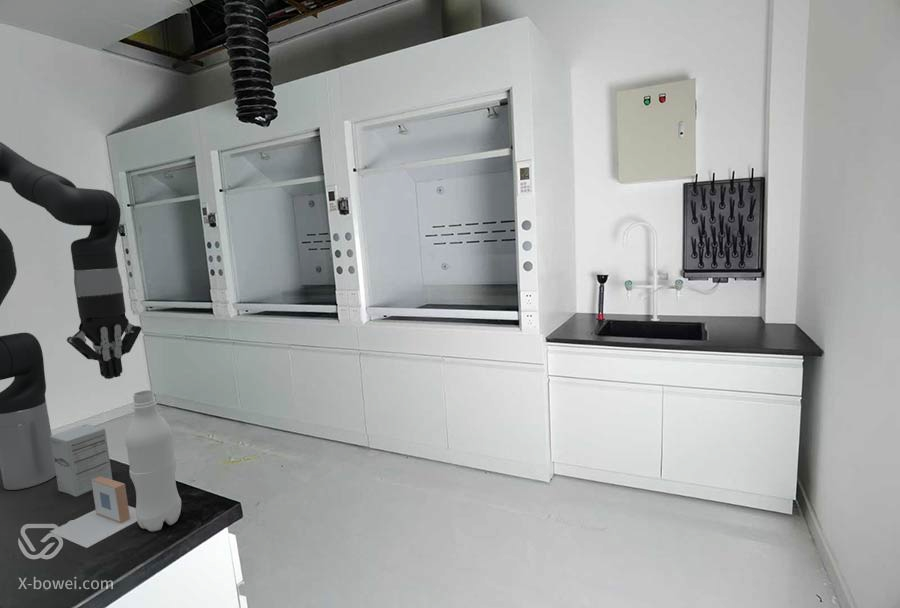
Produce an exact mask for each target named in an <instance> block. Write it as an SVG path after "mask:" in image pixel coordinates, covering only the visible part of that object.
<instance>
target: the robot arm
mask: <svg viewBox="0 0 900 608" xmlns="http://www.w3.org/2000/svg"><path fill="white" fill-rule="evenodd" d="M0 182H4V183H9V184H10V185H11V187H12V189H13V190H14V192H15V193H17V194H18V195H19V196H20V197H22V198H23V199H25V200H27V201H29V202H30V203H33V204H34V205H37V206H40V207H42V208H44V209H45V210H46V212H47V213H49V214H50V215H51V216H52V217H53V218H54V219H55V220H56V221H58V222H61V223H63V224H66V225H71V226H84V227H85V226H88V227H90V230H89V233H88V235H87V237H82V238H79V239H75V240H74V241H72V242H71V243H70V244H71V245H70V253H71V260H72V261H71V262H72V266H73V277H74V278H73V284H74V290H75V291H74V292H75V297H76V298H75V299H76V304H77V309H78V315H79V320H80V324H79V326H78V331H77V332H76V333H75V334H73V335H72V336H68V337H67V338H66V342H67V343H68V344H69V345H70V346H72V347H73V348H74V349H75V350H76V351H77V352H79V353H80V354H81V355H82V356H83V357H85V358H86V359H87V360H93V361H97V362H98V365H99V373H100V375H101V377H103V378H104V379H107V380H111V379H114V378H118V377H121V374H122V373H123V364H122V363H123V362H122V357H123V355H125V354H126V355H127V354H128V353H130V352H131V351H132V348H133V347H134V344H135V343H136V341H137V339H138V337H139V336H140V333H141V331H142V326H140V325H134V324H132V323H130V322H129V318H127V316H126V304H125V297H124V291H123V290H124V289H123V283H122V276H121V274H120V270H119V266H118V265H119V264H118V258H117V251H116V245H117V240H118V234H119V233H118V232H119V228H120V222H121V215H122V214H121V211H122V210H121V206H120V203H119V201H118V200H117V198H116V197H115V196H114V195H113V194H112V193H111V192H110V191H107V190H104V189H96V188H94V189H93V188H82V187H77V186H76V185H75V183H73V182H72V181H71V180H70V179H68V178H67V177H65V176H62V175H60V174H58V173H55V172H52V171H51V170H47V169H45V168H43V167H40V166H38V165H37V164H35V163H33V162H31V161H29V160H28V159H26V158H25V157H23V156H22V155H20V154H18V152H16V151H14V150H13V149H11V148H10V147H9V146H8V145H6V144H4V143H3V142H2V141H0ZM17 272H18V271H17V264H16V258H15V252H14V246H13V244H12V241H11V240H10V238H9V237H8V235H7V234H6V233H5V232H4V230H2V228H0V307H1V305H2V303H3V302H4V300H5V298H6V297H7V295H8V293H10V292H9V291H10V290H11V288H12V286H13V285H14V283H15V280H16V277H17ZM123 335H124V336H123ZM86 338H87V339H88V340H89V341H90V342H91V344H92V347H91V346H90V345H88V344H87V343H86V342H87V339H86ZM43 354H44V353H43V349H42V345H41V343H40V341H39V340H38V339H37V337H36V336H35V334H34V335H33V334H32V333H31V332H19V333H17V332H16V333H11V334H5V335H0V381H2V380H6V379H10V378H11V379H12V378H13V380H12V382H11V383H10V384H9V385H8V386H7V387H6V388H5V389H3V390H2V391H0V472H1V479H2V484H3V488H4V490H9V491H12V490H13V491H16V490H22V489H27V488H31V487H35V486H38V485H40V484H43V483H45V482H47V481H50V480H52V479H53V478H54V477H55V476H56V471H55V465H54V458H53V452H52V446H51V440H50V436H51V435H53V433H52V429H51V423H50V417H49V411H48V405H47V400H46V392H47V382H46V376H45V375H46V374H45V362H44V355H43Z"/></svg>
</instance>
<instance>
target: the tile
mask: <svg viewBox="0 0 900 608" xmlns="http://www.w3.org/2000/svg"><path fill="white" fill-rule="evenodd" d="M91 484H92V490H91V491H92V495H93V501H94V506H95V507H94V508H95V509H94V510H96V514H97V515H100V516H102V517H105V518H108V519H110V520H113V521H116V522H118V523H123V522H125V521H127V520H129V519H130V515H129V508H128V506H129V503H128V496H127V490H126V489H127V488H126V484H125V483H124V482H120V481H118V480H114V479H113V480H111V479H108V478H105V477H101V476H99V477H97V478H94V479H92V480H91Z"/></svg>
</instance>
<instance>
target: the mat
mask: <svg viewBox="0 0 900 608" xmlns="http://www.w3.org/2000/svg"><path fill="white" fill-rule="evenodd" d="M128 508H129V515H130V519H129V520H127V521H125V522H123V523H118V522H116V521H113V520H110V519H108V518H105V517H102V516H100V515H97V514H96V509H94V510H92V511H90V512H87V513H85V514H84V515H82V516H79V517H78V518H75V519H73V520H71V521H69V522H66V523H64V524H62V525H60V526H58V527H55V528H54V529H51V530H50V531H49V533H50V534H54V535H56V536H58V537H61V538H63V539H65V540H68V541H69V542H72V543H75V544H77V545H79V546H81V547H83V548H86V549H87V548H90V547H92V546H94V545H95V544H97V543H100V542H101V541H103V540H104V539H106V538H108V537H110V536H112V535H114V534H116V533H118V532H120V531H122V530H124V529H125V528H127V527H129V526H131V525H133V524H135V523H136V522H137V518H136V513H135V510H136V507H133V506H130V505H128ZM137 523H138V522H137Z"/></svg>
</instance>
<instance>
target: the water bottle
mask: <svg viewBox="0 0 900 608" xmlns="http://www.w3.org/2000/svg"><path fill="white" fill-rule="evenodd" d="M132 396H133V397H132V398H133V406H132V409H133V410H134V413H133V418H132V421H131V423H130V425H129V427H128V430H127V432H126V435H125V440H124V441H125V447H126V450H127V457H128V464H129V469H128V470H129V478H130V479H131V481H132V484H133V485H134V490H135V497H136V499H135V500H136V504H135V508H136V510H135V513H136V518H137V524H138V525H139V527H140V528H141V529H143V530H144V529H145V530H148V532H156V531H157V532H158V531H160V530H162V528H163V525H164V522H165V523H166V525H169V526H172V525H174V524H175V523H176V522H178V519H179V517H180V515H181V509H182V498H181V497H180V495H179V492H178V488H177V483H176V467H177V459H176V457H175V452H174V442H173V432H172V431H173V430H172V429H171V426H170V425H169V423H168V422H167V421H166V419H165V418H164V417H163V416H162V415H161V414H160V413H159V411H158V410H157V408H156V406H157V401H156V399H155V396H154V391H153V390H149V389H148V390H141V391H137V392H134V393H133V395H132Z"/></svg>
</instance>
